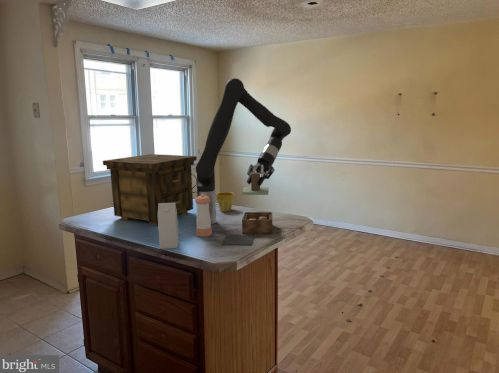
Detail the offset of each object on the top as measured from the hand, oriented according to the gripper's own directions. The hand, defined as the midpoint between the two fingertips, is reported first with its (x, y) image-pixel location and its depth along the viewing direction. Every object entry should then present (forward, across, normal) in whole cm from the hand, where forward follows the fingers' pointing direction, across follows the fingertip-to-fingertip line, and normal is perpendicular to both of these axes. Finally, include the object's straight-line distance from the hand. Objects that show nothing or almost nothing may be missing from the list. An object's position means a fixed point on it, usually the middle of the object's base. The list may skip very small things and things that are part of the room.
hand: (253, 183), depth 172 cm
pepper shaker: (+29, -16, +4) cm, 33 cm away
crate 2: (+14, 0, +18) cm, 23 cm away
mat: (+27, +2, +6) cm, 27 cm away
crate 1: (+25, -62, +8) cm, 67 cm away
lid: (+2, 0, +4) cm, 5 cm away
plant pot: (+1, -38, +32) cm, 50 cm away
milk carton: (+43, -17, -10) cm, 47 cm away
